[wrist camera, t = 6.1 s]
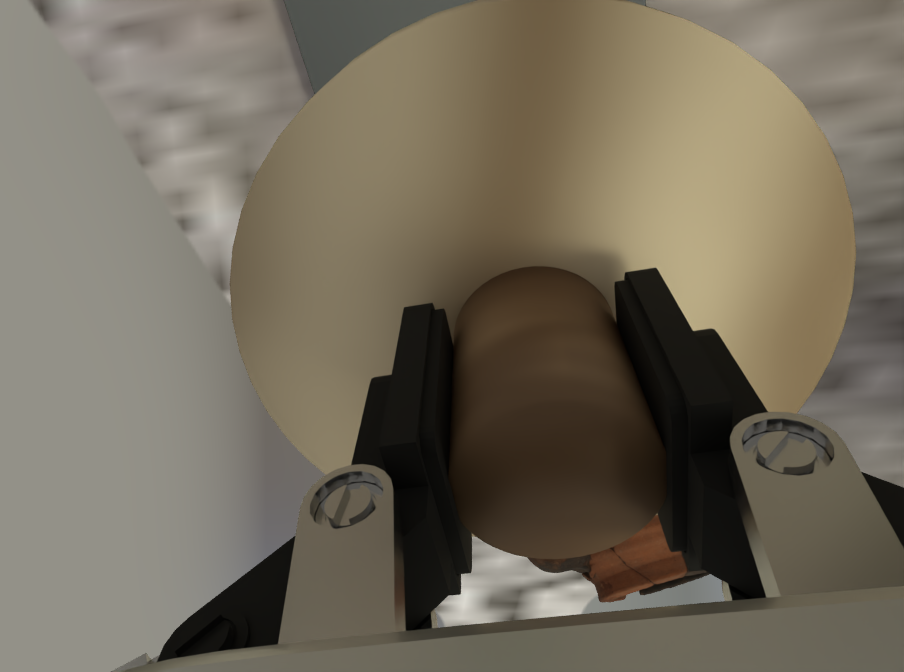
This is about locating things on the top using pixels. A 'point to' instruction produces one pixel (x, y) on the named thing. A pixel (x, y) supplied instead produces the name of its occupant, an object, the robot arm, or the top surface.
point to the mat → (353, 28)
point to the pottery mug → (629, 565)
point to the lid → (539, 248)
